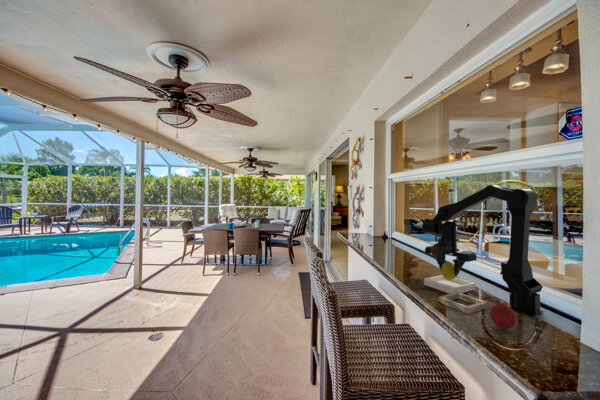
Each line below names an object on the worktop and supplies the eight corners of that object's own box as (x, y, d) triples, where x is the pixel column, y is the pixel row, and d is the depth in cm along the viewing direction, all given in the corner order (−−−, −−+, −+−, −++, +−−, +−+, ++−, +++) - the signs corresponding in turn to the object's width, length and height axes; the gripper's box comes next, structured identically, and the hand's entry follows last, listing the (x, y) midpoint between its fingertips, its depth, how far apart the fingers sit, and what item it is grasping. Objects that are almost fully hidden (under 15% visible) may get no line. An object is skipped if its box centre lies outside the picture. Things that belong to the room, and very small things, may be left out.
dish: (475, 289, 99) (475, 283, 99) (454, 295, 93) (454, 288, 93) (444, 280, 111) (444, 274, 111) (424, 284, 105) (424, 278, 105)
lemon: (460, 282, 99) (459, 263, 99) (446, 283, 99) (445, 263, 99) (451, 278, 105) (451, 259, 105) (438, 278, 105) (438, 259, 105)
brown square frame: (487, 307, 83) (487, 302, 83) (468, 314, 78) (468, 308, 78) (457, 296, 92) (457, 291, 92) (438, 301, 88) (438, 296, 88)
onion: (518, 337, 65) (518, 307, 65) (491, 331, 68) (490, 302, 68) (514, 327, 70) (513, 299, 70) (488, 322, 73) (488, 295, 73)
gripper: (415, 235, 107) (416, 270, 107) (458, 241, 90) (459, 283, 90) (433, 233, 112) (433, 267, 112) (477, 238, 95) (477, 279, 95)
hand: (449, 273), depth 102 cm, fingers closed on lemon, 6 cm apart
